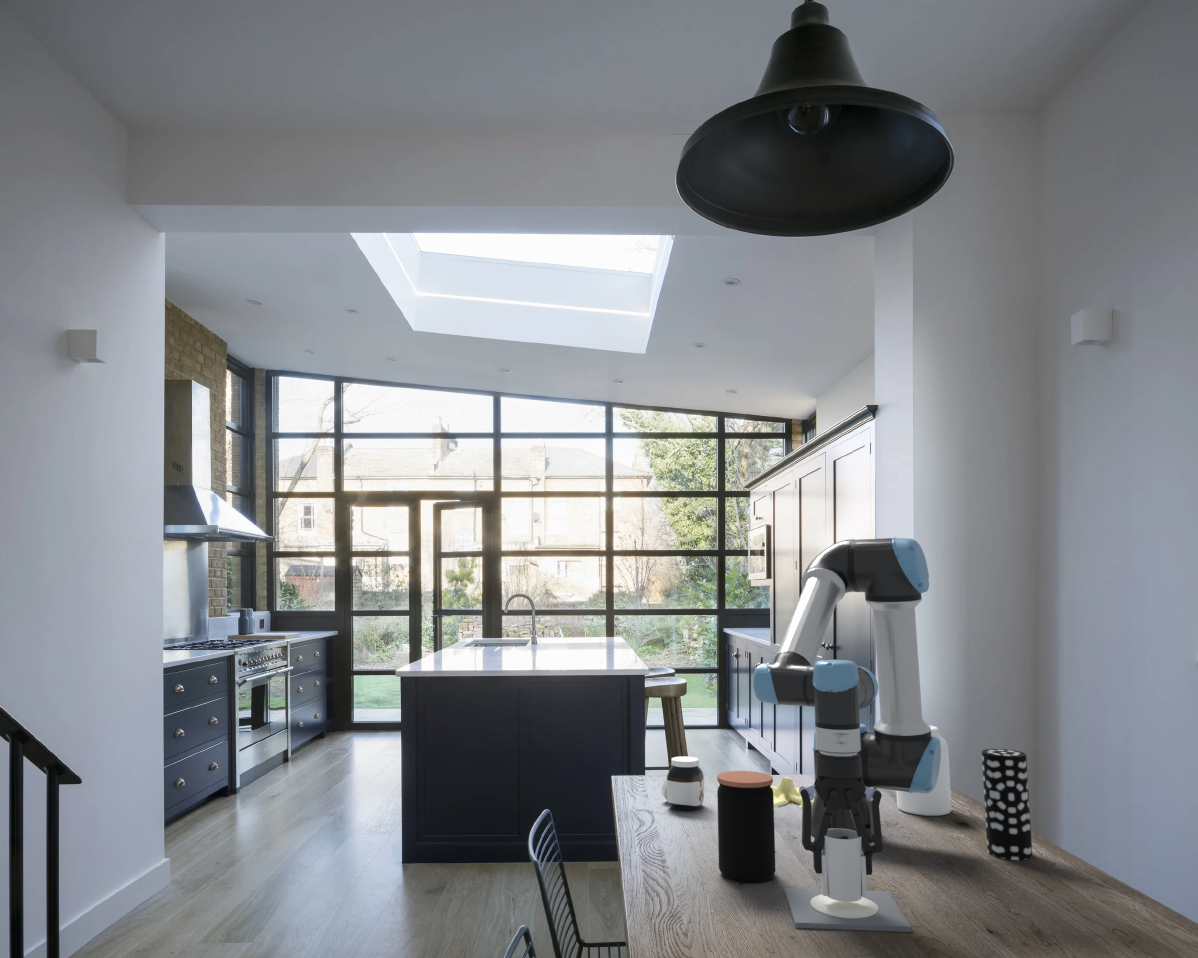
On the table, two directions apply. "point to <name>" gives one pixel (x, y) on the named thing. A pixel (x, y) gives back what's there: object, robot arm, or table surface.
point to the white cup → (843, 864)
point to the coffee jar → (746, 826)
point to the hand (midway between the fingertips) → (843, 893)
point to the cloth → (787, 793)
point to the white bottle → (939, 796)
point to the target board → (845, 911)
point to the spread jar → (684, 784)
